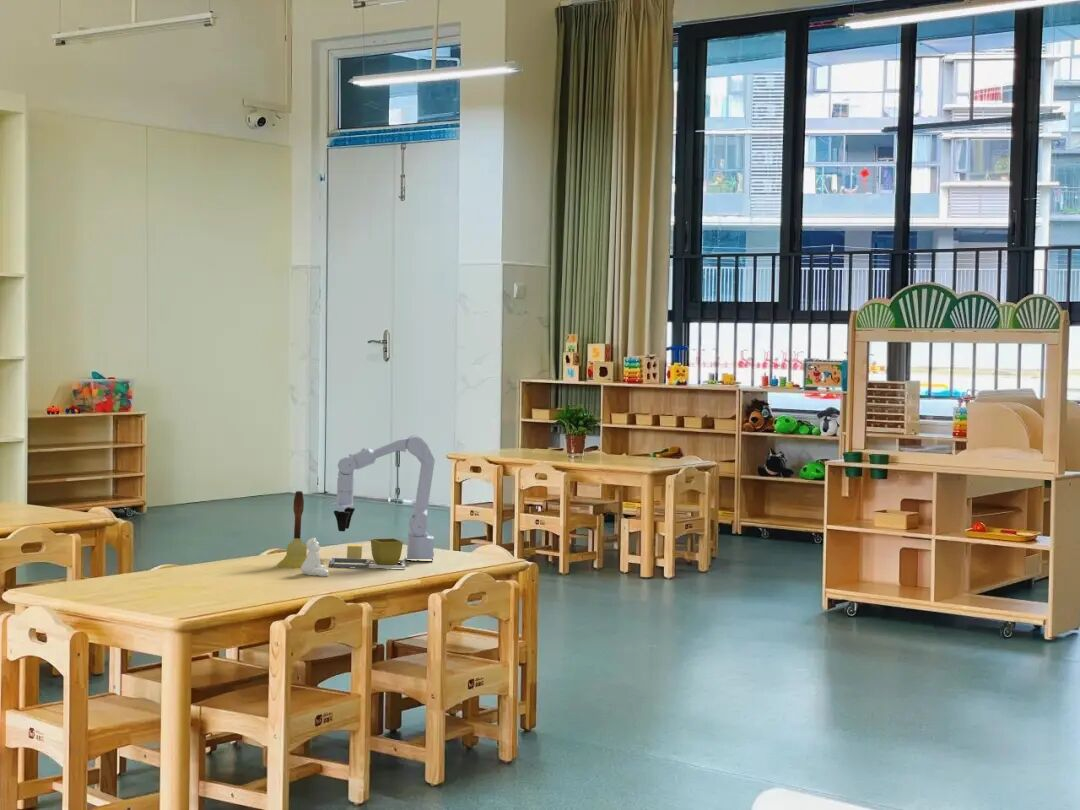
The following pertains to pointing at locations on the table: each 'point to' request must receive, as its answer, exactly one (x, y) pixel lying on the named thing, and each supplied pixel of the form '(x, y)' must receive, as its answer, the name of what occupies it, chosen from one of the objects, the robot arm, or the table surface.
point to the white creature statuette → (313, 560)
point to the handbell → (296, 538)
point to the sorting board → (362, 564)
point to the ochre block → (354, 551)
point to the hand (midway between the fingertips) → (343, 529)
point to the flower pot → (386, 551)
